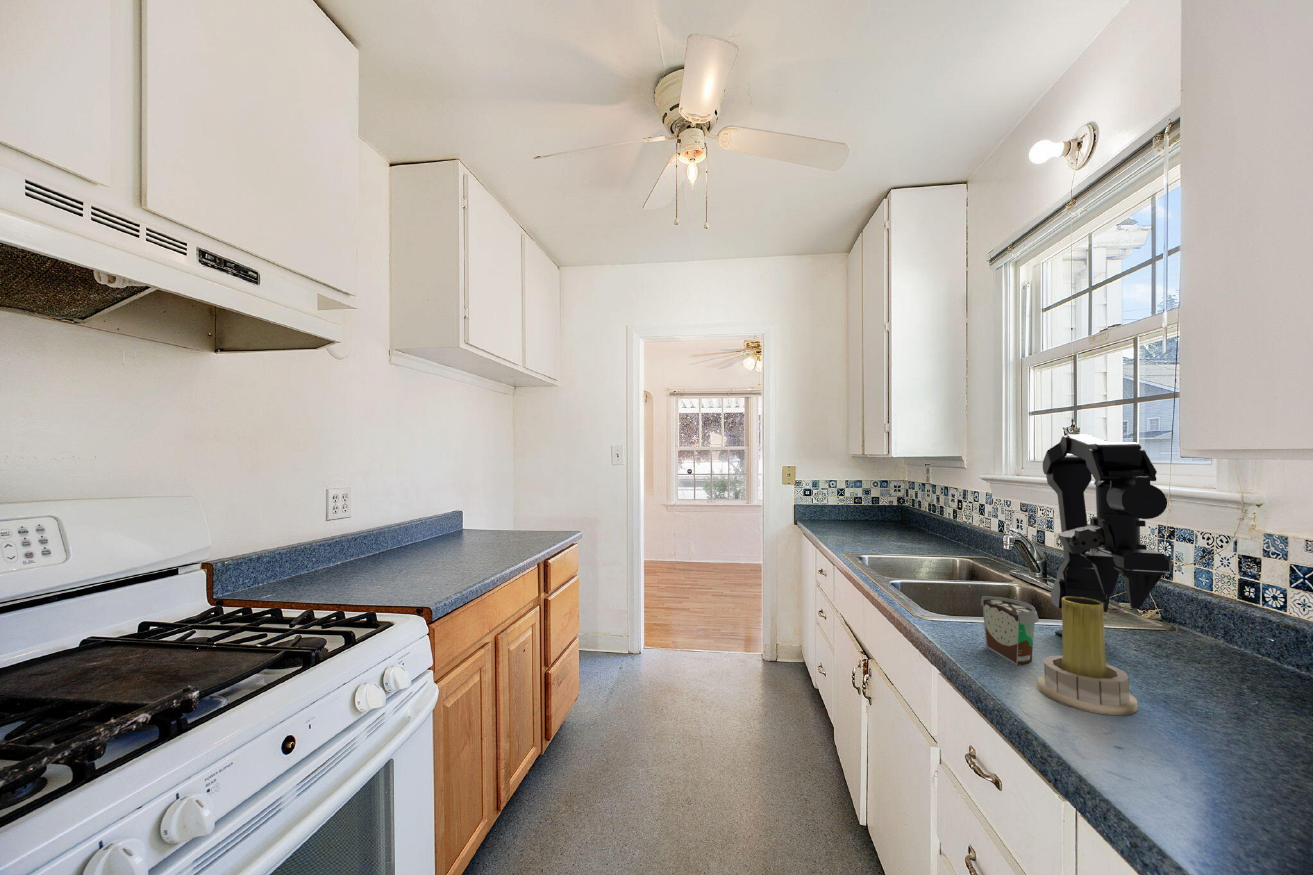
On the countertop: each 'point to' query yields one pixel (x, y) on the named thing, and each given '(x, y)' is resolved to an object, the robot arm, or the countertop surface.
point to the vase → (1083, 637)
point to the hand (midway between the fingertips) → (1120, 601)
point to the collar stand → (1087, 689)
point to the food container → (1009, 628)
